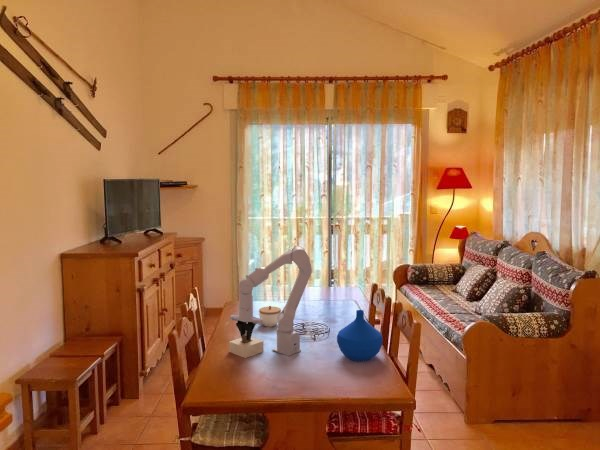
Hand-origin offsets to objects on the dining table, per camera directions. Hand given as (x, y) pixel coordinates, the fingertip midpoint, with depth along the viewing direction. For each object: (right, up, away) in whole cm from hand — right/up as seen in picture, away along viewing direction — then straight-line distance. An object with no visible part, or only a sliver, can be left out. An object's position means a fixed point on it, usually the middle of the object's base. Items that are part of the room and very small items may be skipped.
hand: (246, 339), depth 197 cm
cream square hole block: (0, -5, +1) cm, 5 cm away
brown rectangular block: (0, -5, +1) cm, 5 cm away
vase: (+46, -6, -5) cm, 47 cm away
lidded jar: (+8, -2, +37) cm, 38 cm away
